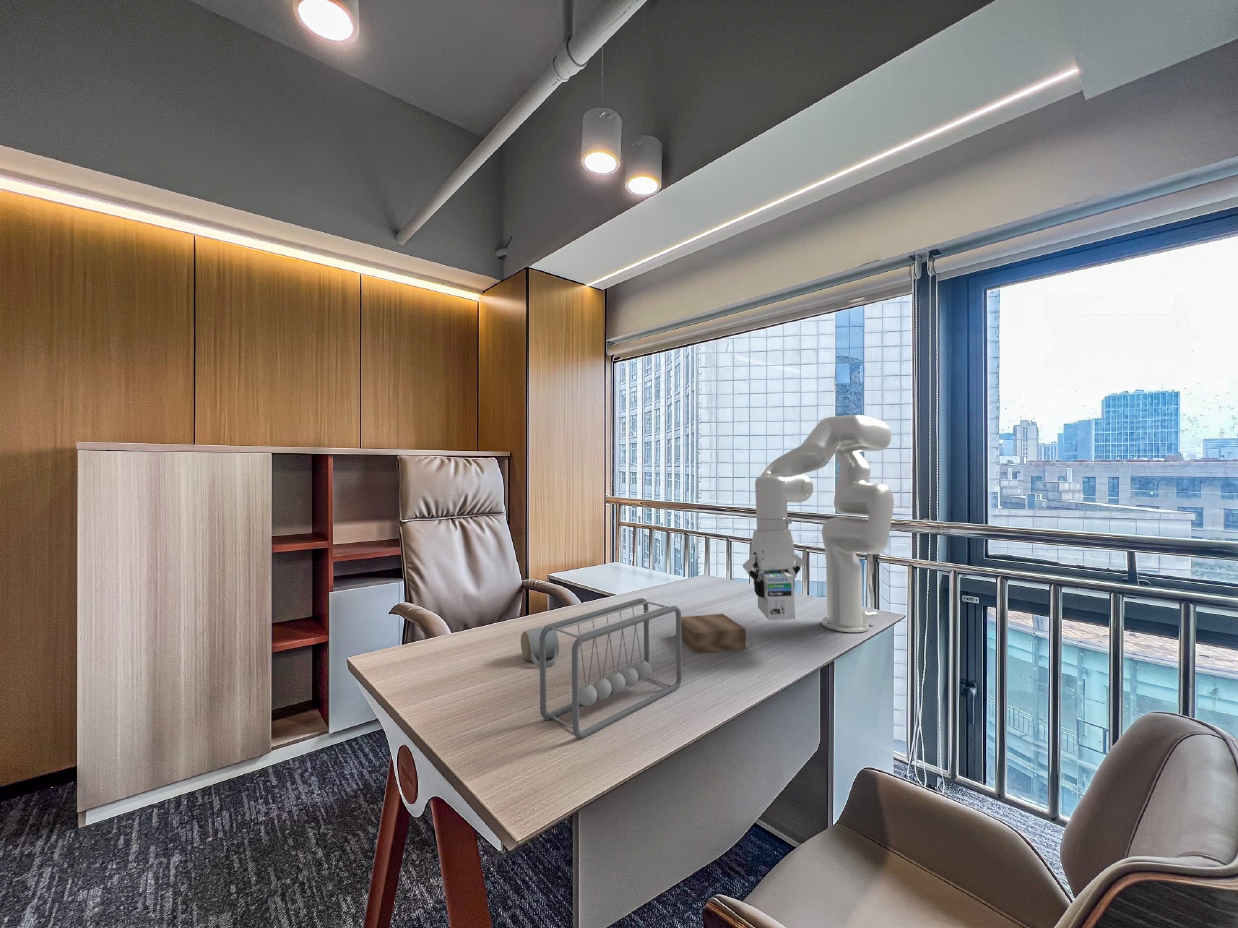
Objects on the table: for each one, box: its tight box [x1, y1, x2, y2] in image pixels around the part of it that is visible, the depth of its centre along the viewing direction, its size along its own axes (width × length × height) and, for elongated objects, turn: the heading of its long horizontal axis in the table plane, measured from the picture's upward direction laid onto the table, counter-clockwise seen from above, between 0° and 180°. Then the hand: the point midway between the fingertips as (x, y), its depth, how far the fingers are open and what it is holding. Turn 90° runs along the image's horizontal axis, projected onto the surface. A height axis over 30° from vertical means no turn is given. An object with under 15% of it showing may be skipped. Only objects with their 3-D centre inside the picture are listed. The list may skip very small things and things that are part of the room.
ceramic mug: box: [520, 625, 560, 668], centre depth 122 cm, size 11×8×8 cm
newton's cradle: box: [539, 597, 683, 739], centre depth 99 cm, size 30×10×18 cm, turn 135°
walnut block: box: [681, 613, 747, 654], centre depth 133 cm, size 14×14×5 cm
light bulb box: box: [757, 570, 796, 621], centre depth 125 cm, size 11×7×11 cm, turn 179°
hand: (774, 593), depth 125 cm, fingers closed on light bulb box, 7 cm apart
